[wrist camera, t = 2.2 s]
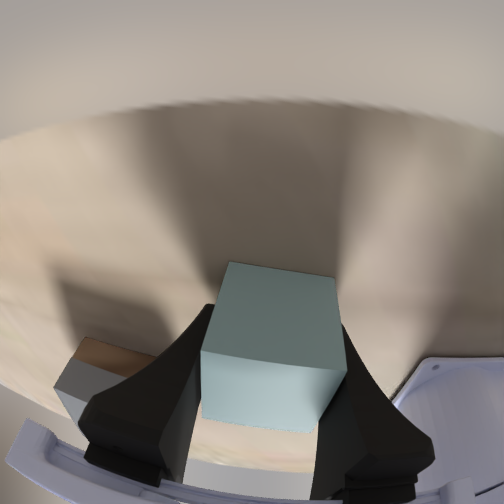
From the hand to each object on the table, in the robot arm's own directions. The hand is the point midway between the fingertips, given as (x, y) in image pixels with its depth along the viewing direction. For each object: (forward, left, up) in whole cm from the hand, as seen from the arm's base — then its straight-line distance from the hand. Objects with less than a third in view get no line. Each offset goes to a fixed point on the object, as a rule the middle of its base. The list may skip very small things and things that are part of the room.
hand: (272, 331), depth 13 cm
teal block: (0, 0, -1) cm, 1 cm away
